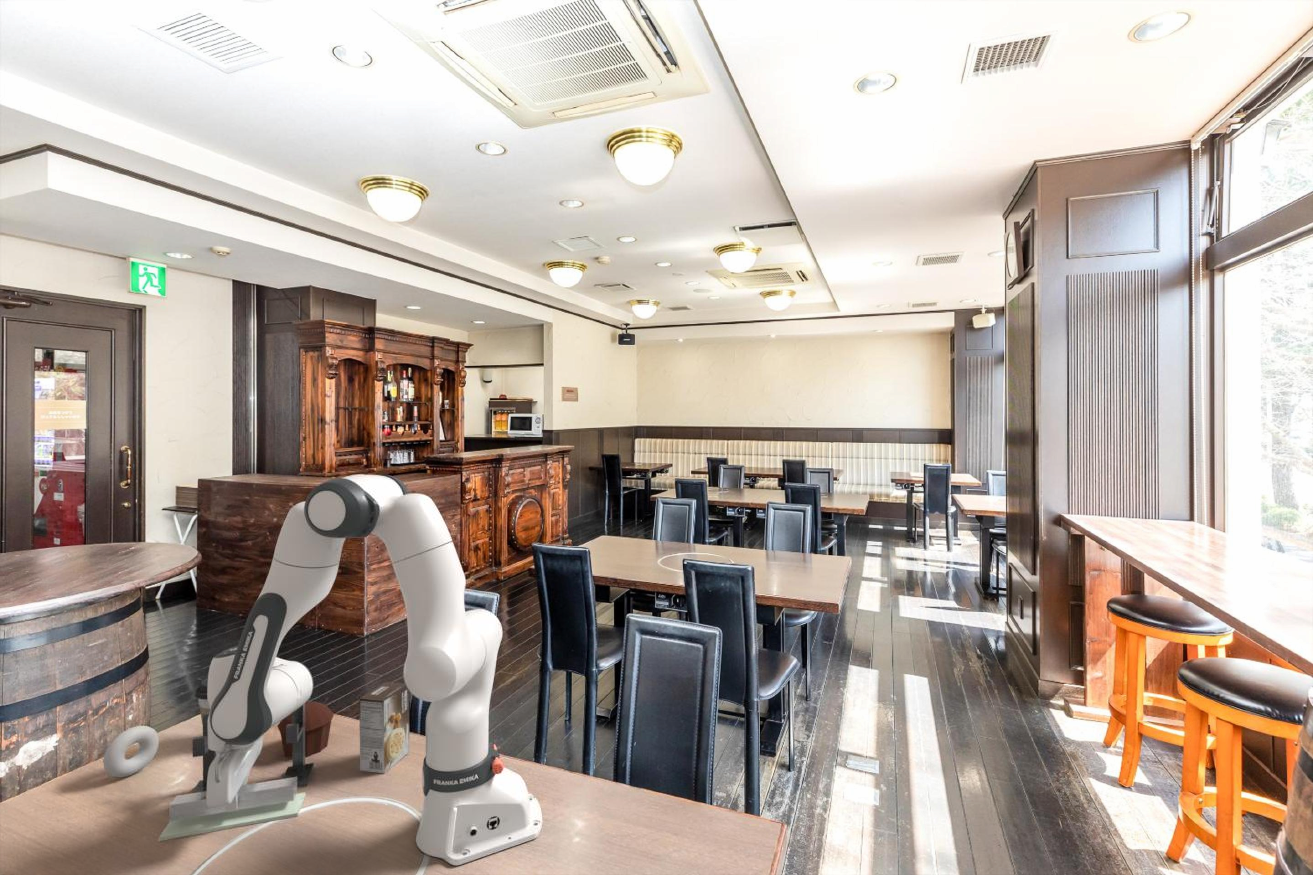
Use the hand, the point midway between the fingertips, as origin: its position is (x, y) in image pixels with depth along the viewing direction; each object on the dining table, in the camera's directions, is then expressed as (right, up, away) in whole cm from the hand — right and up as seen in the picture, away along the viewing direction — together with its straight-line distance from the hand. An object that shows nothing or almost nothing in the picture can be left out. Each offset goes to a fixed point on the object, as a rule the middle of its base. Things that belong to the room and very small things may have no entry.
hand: (236, 802), depth 116 cm
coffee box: (+20, -3, +19) cm, 28 cm away
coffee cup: (-22, -3, +28) cm, 36 cm away
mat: (0, -3, 0) cm, 3 cm away
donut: (-32, -3, +14) cm, 36 cm away
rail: (0, -1, 0) cm, 1 cm away
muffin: (-1, -3, +25) cm, 25 cm away
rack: (-3, -3, +8) cm, 9 cm away
